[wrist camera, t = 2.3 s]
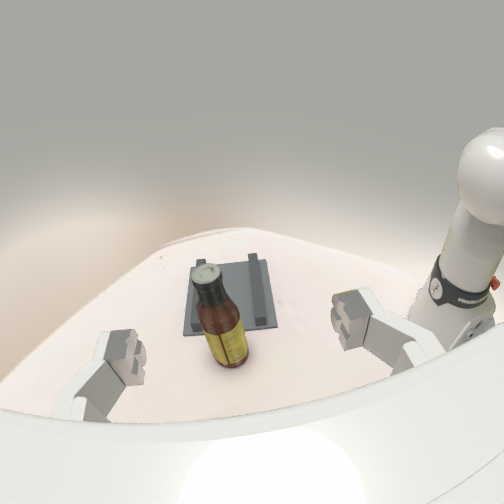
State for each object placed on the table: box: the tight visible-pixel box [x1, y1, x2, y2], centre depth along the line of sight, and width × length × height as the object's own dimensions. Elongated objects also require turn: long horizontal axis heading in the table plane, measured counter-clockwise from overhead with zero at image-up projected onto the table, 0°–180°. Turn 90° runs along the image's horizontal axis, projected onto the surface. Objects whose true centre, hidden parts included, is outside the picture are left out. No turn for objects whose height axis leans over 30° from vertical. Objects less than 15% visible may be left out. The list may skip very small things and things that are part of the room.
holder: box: [183, 253, 277, 336], centre depth 60 cm, size 18×20×3 cm
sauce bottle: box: [191, 263, 248, 367], centre depth 43 cm, size 7×6×20 cm
